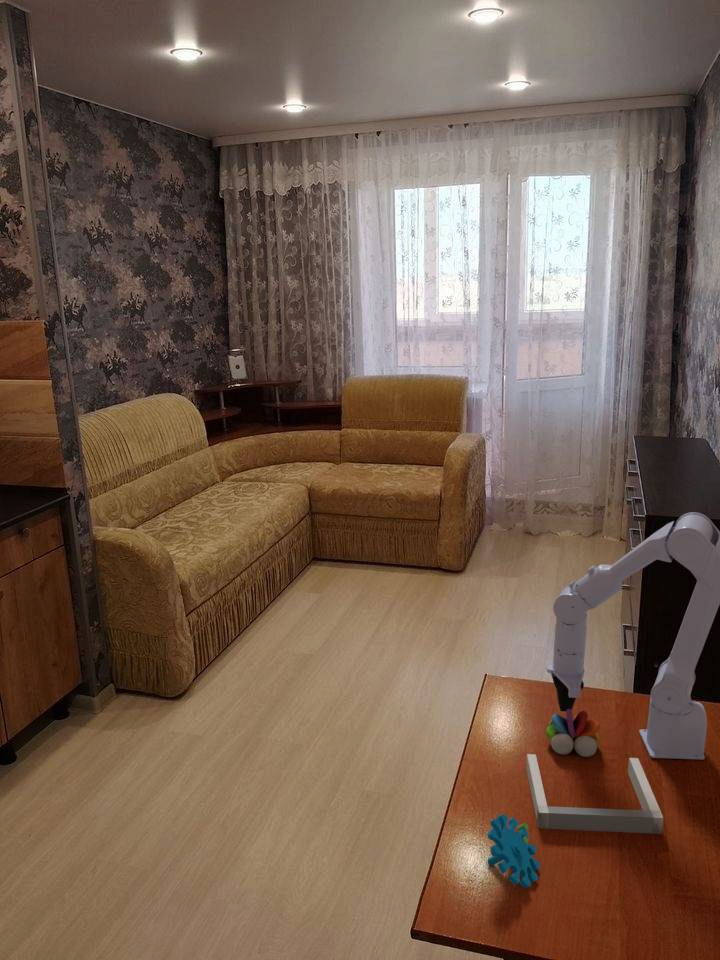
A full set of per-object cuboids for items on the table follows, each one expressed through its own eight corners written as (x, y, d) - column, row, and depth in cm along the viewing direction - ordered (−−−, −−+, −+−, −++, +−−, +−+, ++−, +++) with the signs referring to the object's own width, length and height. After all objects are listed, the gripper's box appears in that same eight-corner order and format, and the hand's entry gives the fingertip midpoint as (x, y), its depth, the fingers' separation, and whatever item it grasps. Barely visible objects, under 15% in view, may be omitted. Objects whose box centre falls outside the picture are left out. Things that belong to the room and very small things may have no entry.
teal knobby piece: (529, 899, 103) (485, 834, 106) (498, 913, 106) (456, 849, 109) (552, 855, 113) (512, 797, 115) (523, 869, 116) (484, 812, 118)
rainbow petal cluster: (601, 762, 134) (604, 727, 132) (546, 756, 135) (548, 722, 133) (596, 734, 142) (599, 700, 139) (544, 729, 143) (546, 696, 141)
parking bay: (636, 772, 131) (638, 758, 130) (661, 833, 117) (663, 817, 116) (526, 768, 132) (527, 754, 131) (538, 828, 118) (539, 812, 118)
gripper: (542, 628, 150) (539, 688, 153) (554, 666, 136) (550, 731, 140) (578, 629, 149) (574, 689, 153) (594, 667, 135) (588, 732, 139)
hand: (565, 709), depth 146 cm, fingers closed
